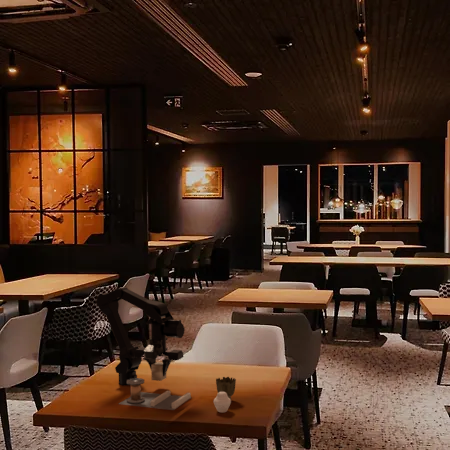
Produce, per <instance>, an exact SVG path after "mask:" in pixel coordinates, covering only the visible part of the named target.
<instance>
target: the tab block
mask: <svg viewBox="0 0 450 450" xmlns="http://www.w3.org/2000/svg"><path fill="white" fill-rule="evenodd" d="M150 371H151V381H158V382H161V381H163V380H166V379H167V374H166V375H165V376H163V362H162V361H156V363H154V364H152V365H151V369H150Z"/></svg>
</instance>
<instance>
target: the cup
mask: <svg viewBox="0 0 450 450" xmlns="http://www.w3.org/2000/svg"><path fill="white" fill-rule="evenodd" d="M236 383H237V379H236V378H234V377H230V376H226V377H225V376H223V377H222V378H220V377H218V378H215V384H216V385H215V386H216V390H217V394H218V393H219V392H226V393H227V396H228V397H229V398H230V400H231V399H232V396H233V395H234V394H235V391H236ZM231 401H232V400H231Z"/></svg>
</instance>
